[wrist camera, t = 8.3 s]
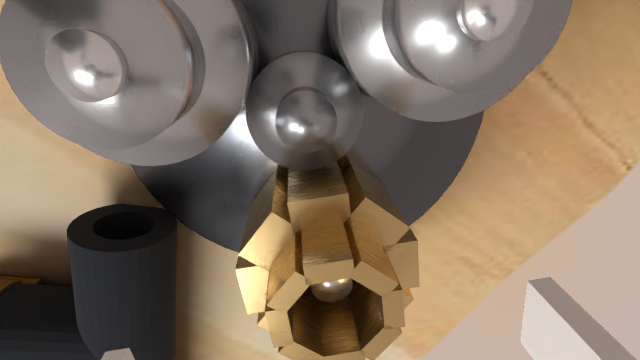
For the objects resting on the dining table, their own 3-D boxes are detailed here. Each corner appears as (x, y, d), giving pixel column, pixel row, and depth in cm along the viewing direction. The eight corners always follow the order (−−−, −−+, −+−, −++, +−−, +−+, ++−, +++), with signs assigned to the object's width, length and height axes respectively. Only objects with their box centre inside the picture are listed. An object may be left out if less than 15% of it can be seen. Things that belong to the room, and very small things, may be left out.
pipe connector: (-53, 463, 20) (-130, 235, 15) (13, 380, 25) (-28, 185, 20) (159, 463, 22) (158, 258, 17) (182, 385, 27) (187, 207, 21)
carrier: (48, -90, 15) (-263, -250, 7) (484, -153, 16) (720, -386, 7) (177, 272, 23) (105, 418, 14) (473, 225, 23) (582, 340, 14)
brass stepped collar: (237, 170, 19) (205, 247, 12) (385, 147, 19) (438, 210, 12) (266, 290, 22) (254, 406, 15) (394, 269, 22) (440, 376, 15)
